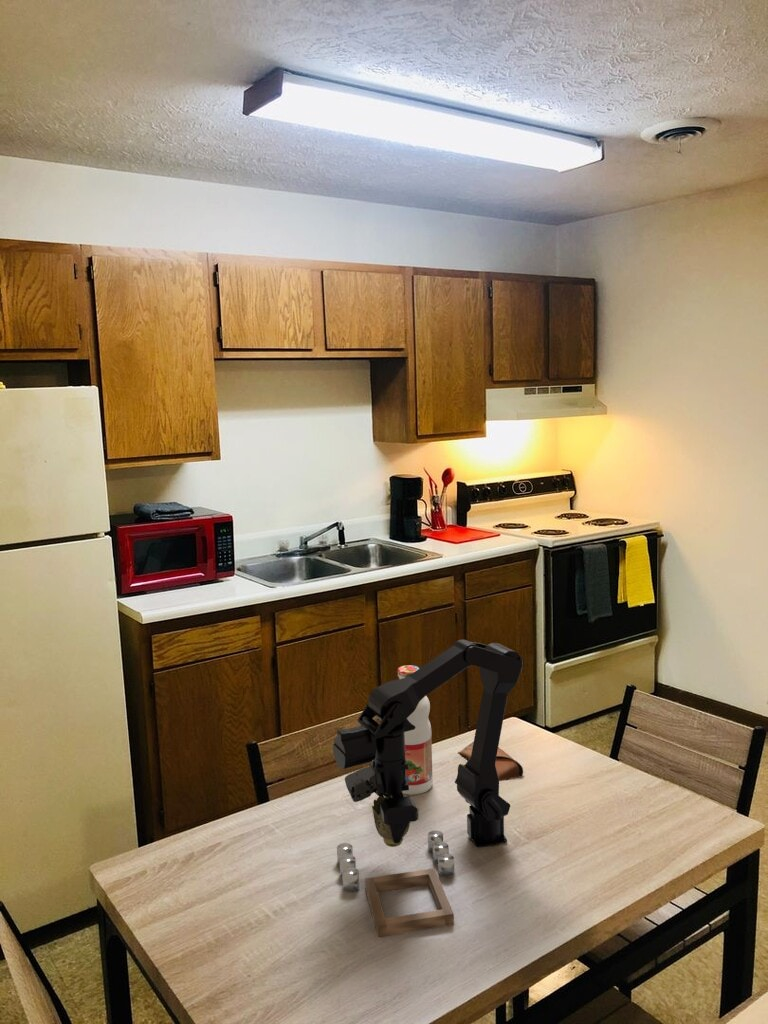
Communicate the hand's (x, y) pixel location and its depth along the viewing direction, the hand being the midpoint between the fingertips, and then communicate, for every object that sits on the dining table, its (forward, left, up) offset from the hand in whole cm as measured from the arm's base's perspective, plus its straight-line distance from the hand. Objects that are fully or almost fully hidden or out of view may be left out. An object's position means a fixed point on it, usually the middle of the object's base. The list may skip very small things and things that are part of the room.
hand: (393, 832), depth 146 cm
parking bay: (0, +12, -7) cm, 14 cm away
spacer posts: (0, 0, -7) cm, 7 cm away
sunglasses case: (-30, -35, -8) cm, 47 cm away
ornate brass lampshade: (0, 0, -2) cm, 2 cm away
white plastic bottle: (-10, -29, -7) cm, 32 cm away
